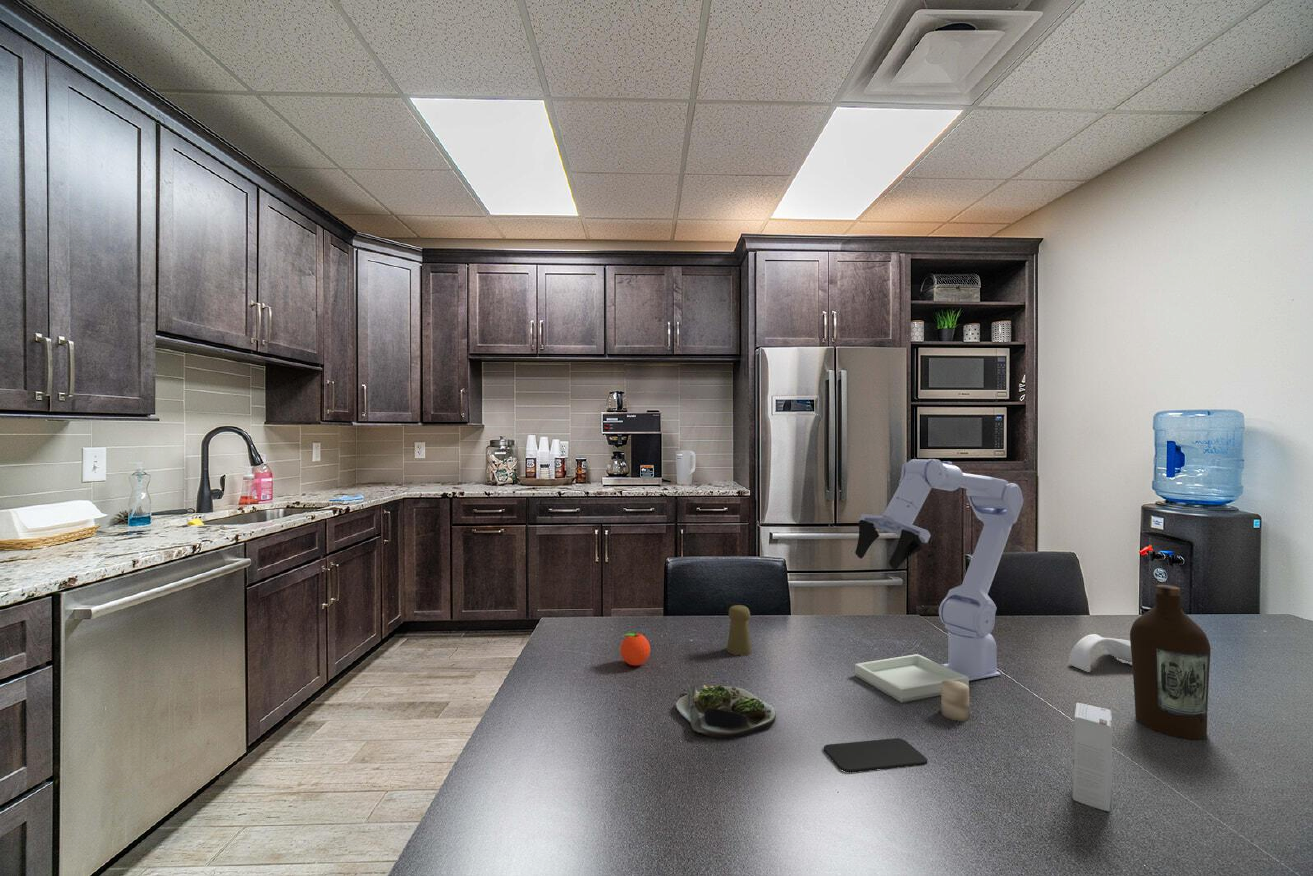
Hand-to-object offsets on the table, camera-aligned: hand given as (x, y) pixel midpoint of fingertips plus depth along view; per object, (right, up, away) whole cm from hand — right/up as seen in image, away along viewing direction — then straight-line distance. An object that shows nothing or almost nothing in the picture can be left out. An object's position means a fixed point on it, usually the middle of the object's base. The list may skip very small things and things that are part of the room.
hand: (874, 561), depth 110 cm
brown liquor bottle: (+49, -27, -12) cm, 57 cm away
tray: (+10, -27, +7) cm, 30 cm away
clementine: (-49, -28, +16) cm, 59 cm away
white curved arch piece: (+63, -28, +17) cm, 71 cm away
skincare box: (+19, -27, -32) cm, 46 cm away
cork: (-24, -28, +24) cm, 44 cm away
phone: (-8, -27, -21) cm, 36 cm away
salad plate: (-31, -28, -8) cm, 42 cm away
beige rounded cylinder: (+12, -27, -7) cm, 31 cm away
